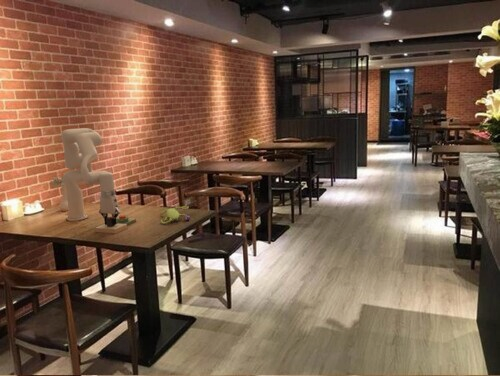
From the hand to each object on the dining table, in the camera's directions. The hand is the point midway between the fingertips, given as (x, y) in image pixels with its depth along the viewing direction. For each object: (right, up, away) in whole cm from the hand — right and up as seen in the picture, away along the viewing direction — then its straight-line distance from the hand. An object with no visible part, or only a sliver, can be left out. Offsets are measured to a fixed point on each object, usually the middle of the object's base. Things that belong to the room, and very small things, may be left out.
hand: (110, 224), depth 246 cm
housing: (+3, -1, +14) cm, 15 cm away
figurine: (+33, +2, +23) cm, 40 cm away
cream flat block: (0, -3, +1) cm, 4 cm away
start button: (+3, +2, +14) cm, 14 cm away
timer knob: (0, -1, 0) cm, 1 cm away
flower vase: (-50, +5, +56) cm, 75 cm away
